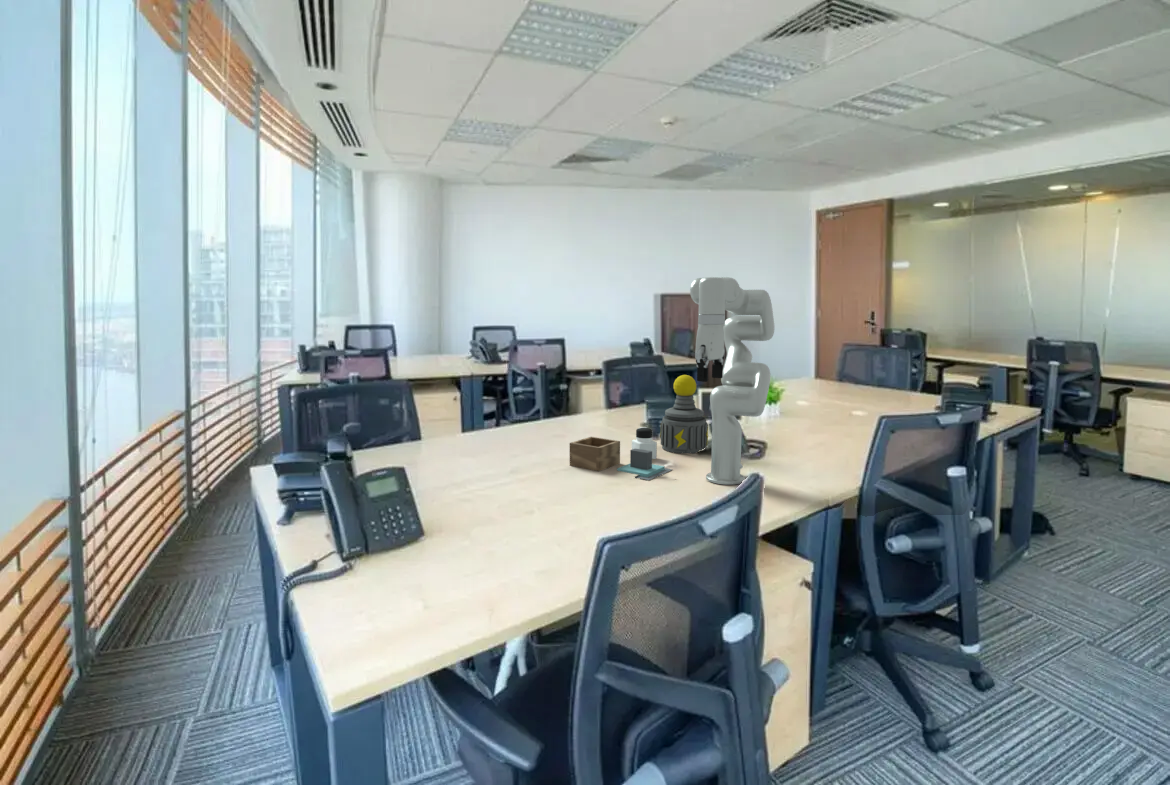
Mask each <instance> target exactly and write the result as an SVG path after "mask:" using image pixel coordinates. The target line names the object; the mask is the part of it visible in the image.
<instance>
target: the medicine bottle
mask: <svg viewBox="0 0 1170 785" xmlns="http://www.w3.org/2000/svg"><path fill="white" fill-rule="evenodd" d="M635 438H636V439H632V440H631V450H632V449H641V450H647V451H652V460H656V459H657V456H658V455H657V454H658V452H657V450H658V448H657V447H658V446H657V445H658V444H657V441H654V440H653V429H652V428H651V427H646V426H644V427H643V426H642V427H639V428H636V430H635Z"/></svg>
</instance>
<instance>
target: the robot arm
mask: <svg viewBox="0 0 1170 785" xmlns="http://www.w3.org/2000/svg"><path fill="white" fill-rule="evenodd" d="M689 293H690V297H691V300H692V301H693V302H694V303H695V304H697V305H698V316H697V318H698V319H697V320H698V321H697V326H698V327H697V331H696V338H695V339H696V340H695V349H694V350H695V353H694V355H695V358H694V359H695V362H696V370H697V371H696V380H697V382H700V383H701V382H705V383H707V382H708V381H709V367H708V365H709V363H710V362H711V361H712V363H713V364H712V365H711V378H713V379H720V381H721V384H722V385H717V386H715V387H714V388H713V389H712V390H711V392H710V395H709V402H710V403H709V404H710V410H711V411H710V412H711V425H712V426H711V452H710V453H711V454H710V455H711V456H710V457H711V460H710V461H711V463H710V472H709V473H707V474H706V476H705V478H706V481H708V482H710V483H713V484H719V485H727V486H730V485H732V486H735V485H741V484H742V483H741V482H742V481H743V480H744V479H746V477H745V476H744V475H743V474H741V469H743V464H742V463H741V462H742V461H741V460H742V459H741V458H742V435H743V434H742V432H743V431H742V430H743V429H742V426H741V423H740V422H739V420H738V419H737V417H736V416H740V417H752V418H753V417H756V418H757V417H760V416H761V415H762V414H763V412H764V410H765V408H766V403H767V398H768V394H769V388H770V385H771V384H770V383H771V369H770V367H769V366H768V364H766V363H763V362H752V360H753V354H752V352H751V350H750V349H749V347H747V345H746V344H745V343H743V342H742V341H747V342H748V341H749V342H751V341H752V342H753V341H754V342H765V341H766V342H768V341H770V340H771V339H772V338H773V336H774V335H775V321H774V312H773V305H772V299H771V296H770V294H769V292H767V290H765V289H743V288H742V287H741V286H740V284H739V282H738V281H737V280H736V279H735V278H733V277H727V276H726V277H724V276H723V277H722V276H721V277H713V276H711V277H698V278H695V279H694V280H692V282H691V284H690V288H689ZM726 311H727V312H728V313H730V314H732V315H734V316H730V317H728V318H726ZM725 352H726V358H725ZM724 359H725V360H724Z"/></svg>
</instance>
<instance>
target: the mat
mask: <svg viewBox="0 0 1170 785" xmlns="http://www.w3.org/2000/svg"><path fill="white" fill-rule="evenodd" d="M671 471H673V469H672V468H667V467H665V470H663V471H661V472H658V473H656V474H654V475H651V476H649V477H642V476H637V475H635V476H634V477H635V478H634V479H637V478H640V479H639V480H642V479H645V480H644V481H647V480H649V481H651V479H652V480H654V479H656V478H658V477H661V476H662V474H663V475H665V474H667V473H669V472H671ZM660 475H661V476H660ZM657 476H658V477H657ZM655 477H656V478H655ZM653 478H654V479H653Z"/></svg>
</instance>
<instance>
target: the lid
mask: <svg viewBox="0 0 1170 785" xmlns="http://www.w3.org/2000/svg"><path fill="white" fill-rule="evenodd" d="M629 451H630V454H629V456H630V457H629V458H630V462H629V463H627V464H625V465H623V466H620V467H617V468H616V470H617V471H618V472H622V473H629V474H634V475H636V476H642V477H649V476H651V475H654V474H656V473H658V472H661V471H663V470H665V468H666V467H665V466H664V465H659V464H653V459H652V451H647V450H641V449H632V448H631V449H630V450H629Z"/></svg>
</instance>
